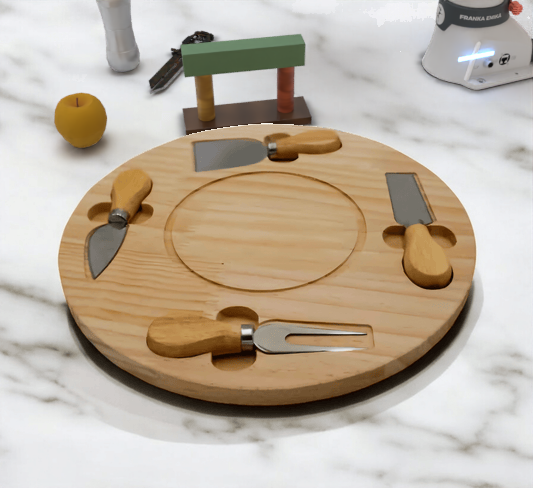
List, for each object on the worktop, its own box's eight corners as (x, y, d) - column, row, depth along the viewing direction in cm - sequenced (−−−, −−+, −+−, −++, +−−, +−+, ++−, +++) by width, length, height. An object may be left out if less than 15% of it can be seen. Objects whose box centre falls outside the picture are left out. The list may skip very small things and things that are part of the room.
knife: (157, 98, 121) (156, 91, 120) (128, 90, 123) (127, 84, 122) (222, 40, 138) (221, 34, 137) (195, 34, 140) (194, 28, 139)
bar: (300, 55, 111) (301, 33, 108) (304, 65, 108) (305, 43, 106) (183, 67, 109) (180, 44, 106) (184, 77, 106) (182, 54, 103)
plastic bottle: (102, 72, 128) (81, -30, 115) (120, 56, 133) (102, -44, 119) (130, 78, 127) (112, -25, 113) (148, 62, 131) (132, -39, 117)
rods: (303, 103, 120) (304, 50, 112) (311, 124, 115) (313, 70, 107) (183, 115, 117) (177, 62, 110) (186, 137, 112) (180, 83, 105)
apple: (87, 164, 107) (75, 118, 101) (50, 148, 110) (36, 103, 104) (121, 138, 112) (112, 93, 106) (85, 124, 115) (74, 79, 109)
